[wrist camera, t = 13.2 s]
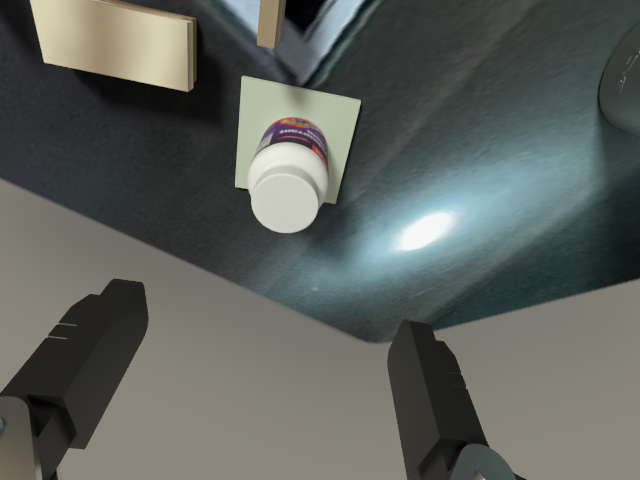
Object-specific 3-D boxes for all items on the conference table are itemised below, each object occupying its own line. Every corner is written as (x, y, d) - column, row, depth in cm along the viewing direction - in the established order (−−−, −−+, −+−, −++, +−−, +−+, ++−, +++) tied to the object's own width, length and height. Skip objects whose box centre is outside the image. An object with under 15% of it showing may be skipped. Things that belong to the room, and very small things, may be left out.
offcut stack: (203, 19, 24) (187, 22, 21) (202, 81, 26) (188, 91, 23) (51, -16, 23) (11, -17, 20) (64, 52, 25) (30, 59, 22)
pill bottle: (340, 138, 28) (349, 194, 20) (305, 188, 30) (300, 256, 22) (281, 99, 26) (265, 143, 18) (249, 156, 29) (223, 217, 21)
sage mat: (360, 100, 27) (361, 101, 26) (335, 201, 32) (335, 204, 31) (243, 75, 26) (241, 76, 25) (236, 184, 31) (234, 186, 30)
